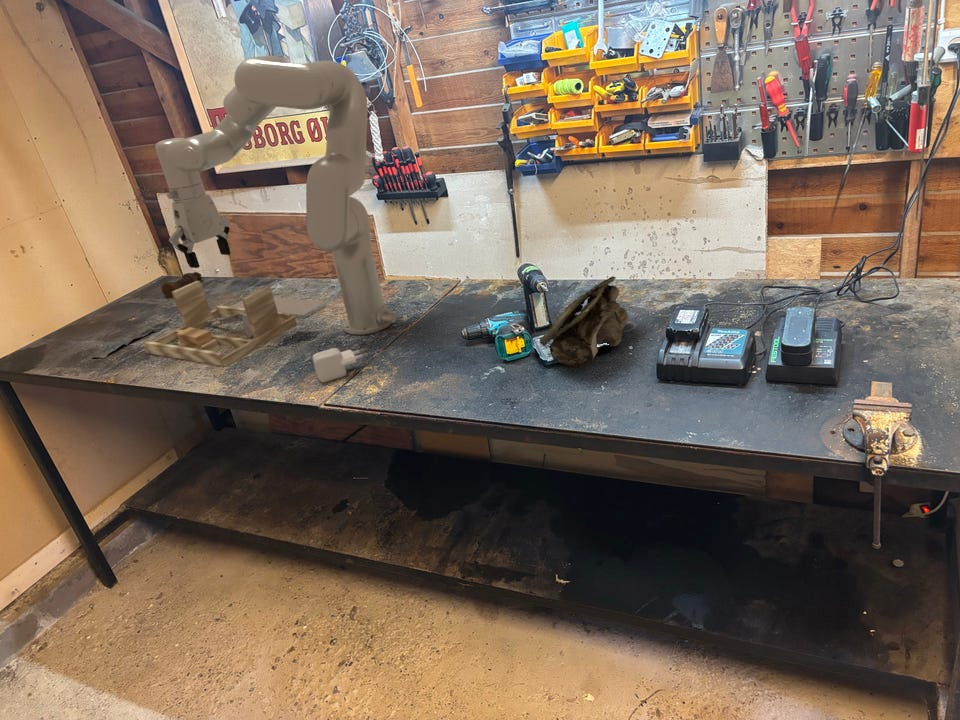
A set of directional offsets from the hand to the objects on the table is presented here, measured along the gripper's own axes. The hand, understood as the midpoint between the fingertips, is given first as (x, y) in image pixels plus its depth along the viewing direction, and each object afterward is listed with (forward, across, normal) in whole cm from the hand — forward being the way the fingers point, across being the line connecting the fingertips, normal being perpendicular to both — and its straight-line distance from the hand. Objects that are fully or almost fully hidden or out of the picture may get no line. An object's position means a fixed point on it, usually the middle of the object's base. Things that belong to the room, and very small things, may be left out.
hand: (210, 260), depth 160 cm
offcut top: (+17, -12, -2) cm, 21 cm away
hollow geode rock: (+19, +13, -94) cm, 97 cm away
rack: (+19, -5, -1) cm, 20 cm away
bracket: (+20, -1, -1) cm, 20 cm away
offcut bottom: (+20, -12, -2) cm, 23 cm away
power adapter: (+19, -11, -48) cm, 53 cm away
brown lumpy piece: (+20, +21, +48) cm, 56 cm away
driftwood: (+20, -14, +27) cm, 36 cm away
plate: (+19, +15, -1) cm, 24 cm away
